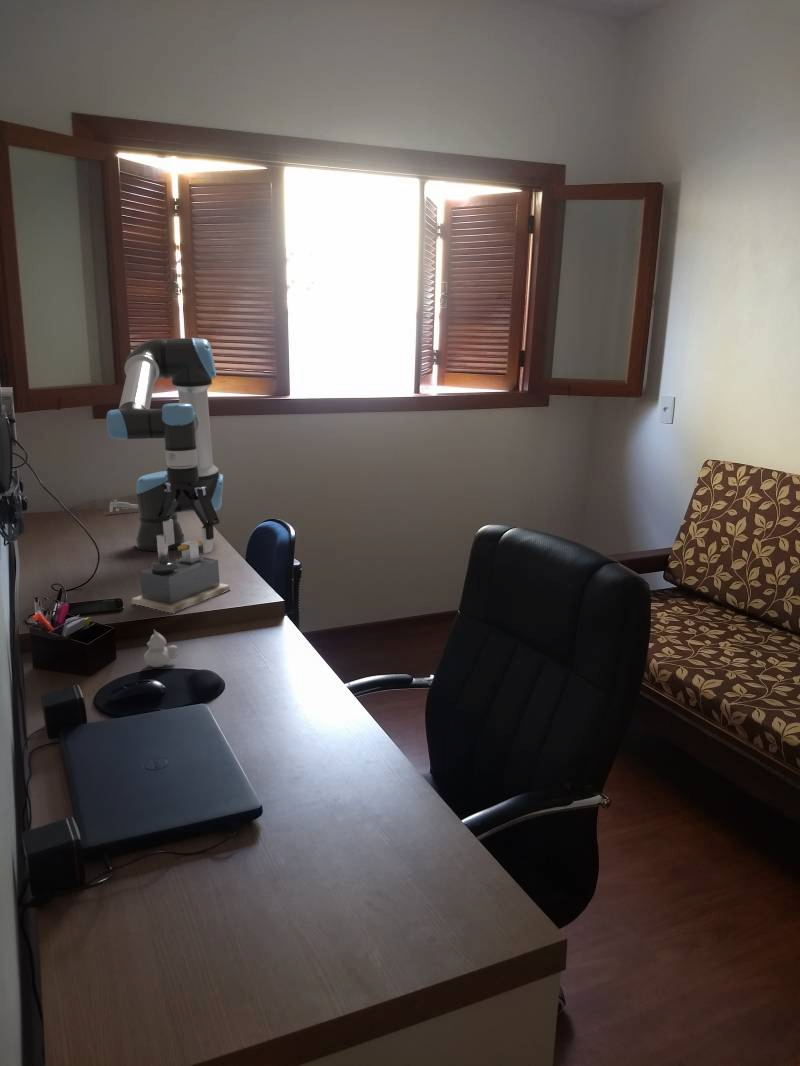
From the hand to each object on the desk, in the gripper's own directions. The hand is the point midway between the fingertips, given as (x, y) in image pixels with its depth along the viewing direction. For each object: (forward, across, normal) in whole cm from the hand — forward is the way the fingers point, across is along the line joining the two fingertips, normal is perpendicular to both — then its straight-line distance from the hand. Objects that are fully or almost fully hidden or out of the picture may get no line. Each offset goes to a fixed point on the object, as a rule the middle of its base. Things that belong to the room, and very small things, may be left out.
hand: (188, 548), depth 196 cm
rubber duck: (+12, +28, -36) cm, 47 cm away
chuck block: (+11, 0, -4) cm, 11 cm away
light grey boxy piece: (+9, 0, 0) cm, 9 cm away
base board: (+12, 0, -4) cm, 13 cm away
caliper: (+13, -89, +60) cm, 108 cm away
